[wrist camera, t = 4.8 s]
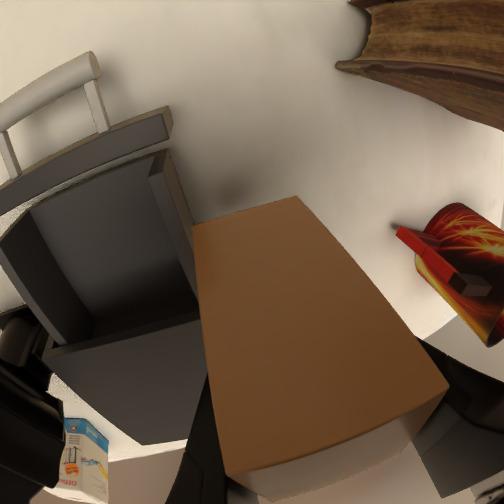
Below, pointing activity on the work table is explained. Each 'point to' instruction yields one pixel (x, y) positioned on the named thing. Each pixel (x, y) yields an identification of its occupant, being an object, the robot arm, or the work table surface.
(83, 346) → the dark grey box
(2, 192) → the drawer
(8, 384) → the robot arm
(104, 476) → the ink box
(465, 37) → the book
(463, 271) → the mug
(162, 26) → the work table surface
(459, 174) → the work table surface
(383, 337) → the box
